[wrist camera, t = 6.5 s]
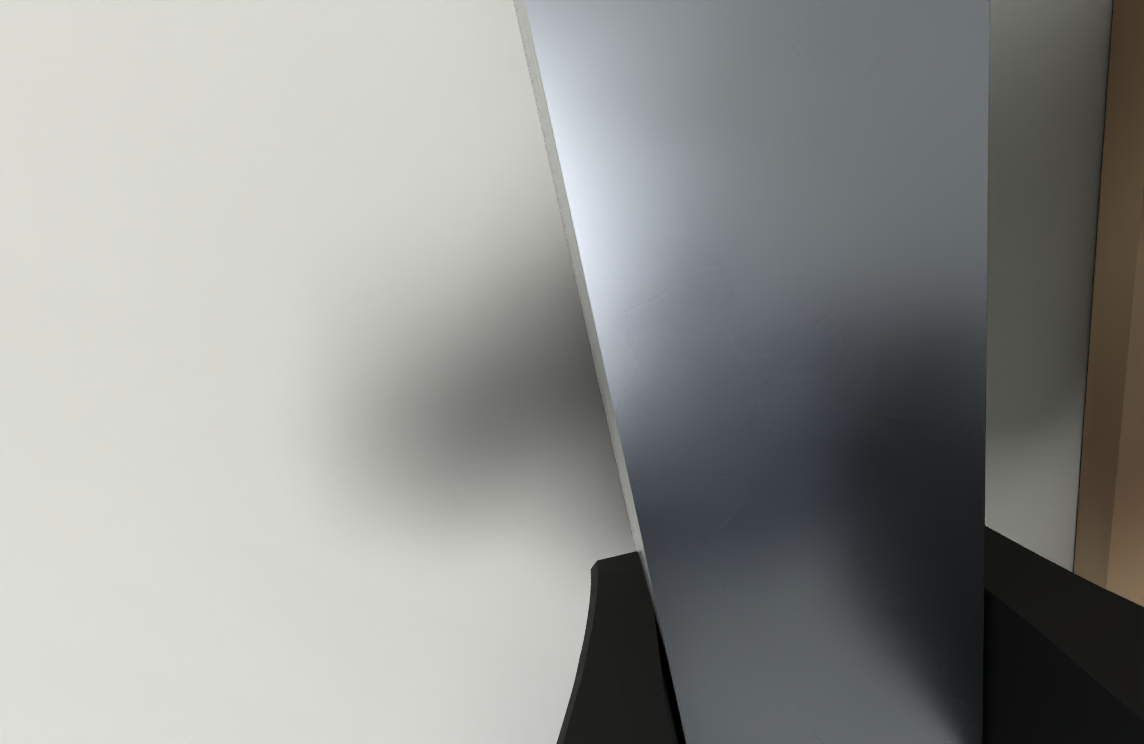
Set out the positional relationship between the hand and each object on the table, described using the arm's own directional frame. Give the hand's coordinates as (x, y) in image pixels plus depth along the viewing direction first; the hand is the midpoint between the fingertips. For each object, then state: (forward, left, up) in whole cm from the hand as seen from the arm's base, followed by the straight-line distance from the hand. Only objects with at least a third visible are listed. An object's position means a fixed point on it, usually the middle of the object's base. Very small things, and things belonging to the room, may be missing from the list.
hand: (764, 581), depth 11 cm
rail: (0, 0, -1) cm, 1 cm away
